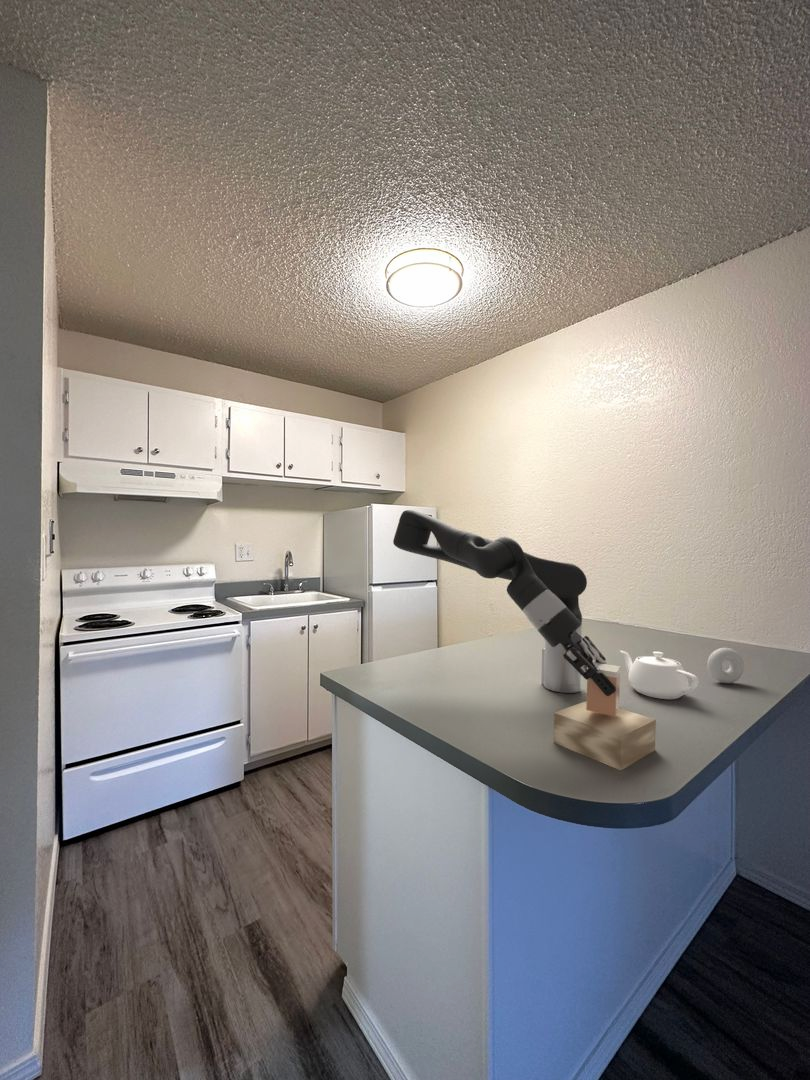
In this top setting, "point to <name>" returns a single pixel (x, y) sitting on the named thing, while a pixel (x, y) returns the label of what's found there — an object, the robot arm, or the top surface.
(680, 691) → the teapot
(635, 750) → the pine box
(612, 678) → the cube
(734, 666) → the donut
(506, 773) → the top surface
